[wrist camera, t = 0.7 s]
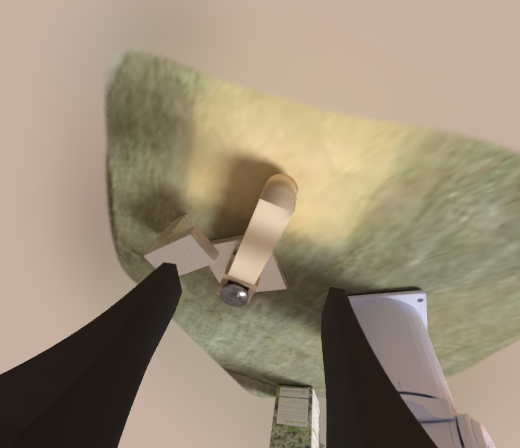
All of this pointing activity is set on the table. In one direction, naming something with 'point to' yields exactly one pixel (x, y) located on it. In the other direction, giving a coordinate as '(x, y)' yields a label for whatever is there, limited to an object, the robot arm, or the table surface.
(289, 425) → the syrup box
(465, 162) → the table surface
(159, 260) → the block
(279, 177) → the link
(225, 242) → the pintle base
